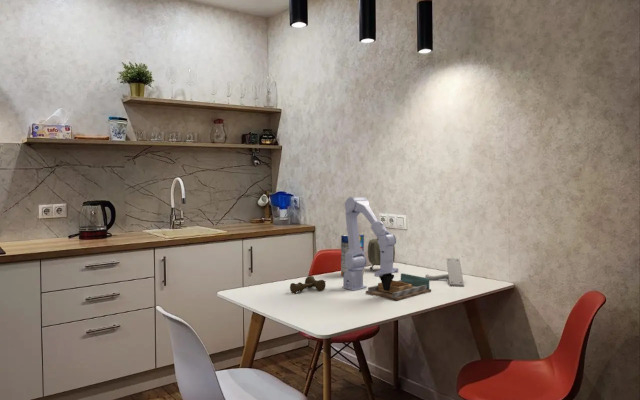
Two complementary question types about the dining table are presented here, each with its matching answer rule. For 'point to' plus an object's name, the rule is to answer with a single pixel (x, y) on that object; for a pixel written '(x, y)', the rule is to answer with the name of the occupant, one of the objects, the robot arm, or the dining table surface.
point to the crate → (395, 286)
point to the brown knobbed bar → (308, 285)
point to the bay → (418, 287)
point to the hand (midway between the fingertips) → (386, 290)
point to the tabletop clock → (375, 252)
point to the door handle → (451, 273)
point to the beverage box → (346, 248)
